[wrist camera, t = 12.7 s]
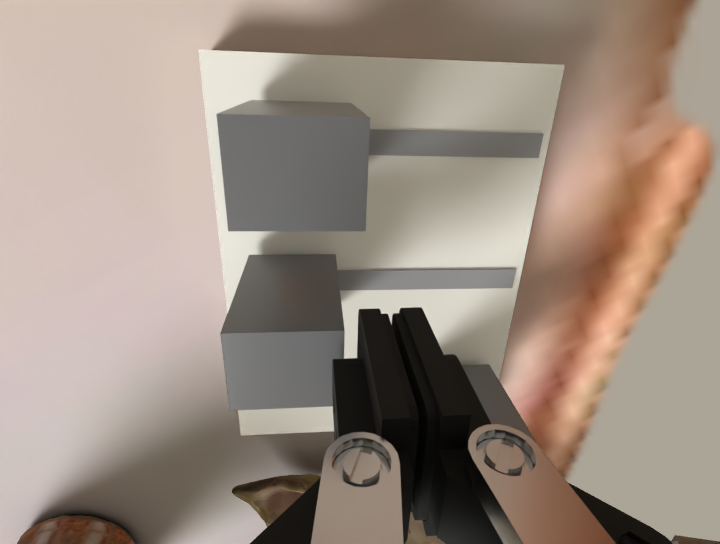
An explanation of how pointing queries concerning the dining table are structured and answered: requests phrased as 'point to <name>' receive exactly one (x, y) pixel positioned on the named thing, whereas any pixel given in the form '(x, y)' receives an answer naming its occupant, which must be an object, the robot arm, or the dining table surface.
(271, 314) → the slider
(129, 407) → the dining table surface
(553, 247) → the dining table surface
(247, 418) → the switch panel
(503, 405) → the slider
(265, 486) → the ceramic sculpture
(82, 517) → the sauce bottle
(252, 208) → the slider
